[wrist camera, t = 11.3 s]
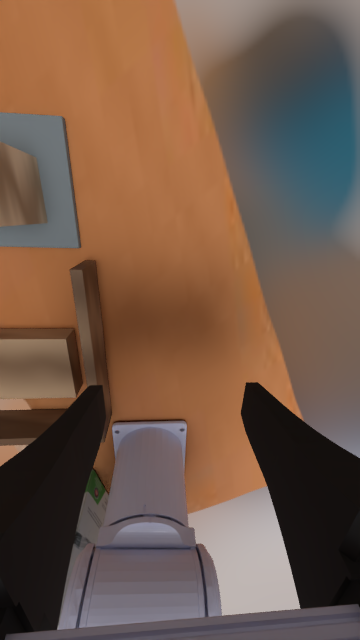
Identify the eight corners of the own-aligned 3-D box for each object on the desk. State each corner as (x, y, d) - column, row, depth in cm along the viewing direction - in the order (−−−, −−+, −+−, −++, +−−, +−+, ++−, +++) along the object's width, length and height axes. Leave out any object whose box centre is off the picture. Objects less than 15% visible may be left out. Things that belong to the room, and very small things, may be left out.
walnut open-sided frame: (111, 413, 26) (104, 442, 22) (-28, 417, 25) (-57, 447, 21) (95, 260, 19) (82, 269, 16) (-94, 256, 18) (-149, 265, 15)
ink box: (54, 474, 29) (-11, 631, 18) (94, 466, 29) (53, 619, 18) (81, 515, 32) (41, 667, 22) (117, 508, 32) (94, 658, 21)
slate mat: (81, 247, 19) (78, 248, 18) (-28, 244, 18) (-33, 245, 18) (64, 119, 16) (61, 116, 15) (-68, 111, 15) (-76, 107, 15)
